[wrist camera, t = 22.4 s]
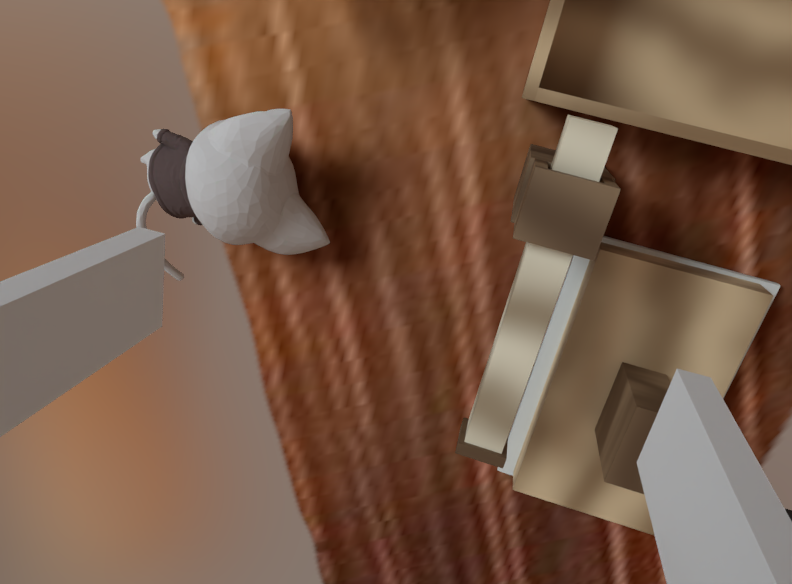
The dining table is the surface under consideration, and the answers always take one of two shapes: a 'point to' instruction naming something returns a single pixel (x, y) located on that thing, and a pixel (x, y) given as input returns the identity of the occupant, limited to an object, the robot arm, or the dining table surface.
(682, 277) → the lid
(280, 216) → the toy
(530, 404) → the light grey flat board
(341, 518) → the dining table surface
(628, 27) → the light wood open box
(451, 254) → the dining table surface
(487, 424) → the beige wooden bar
